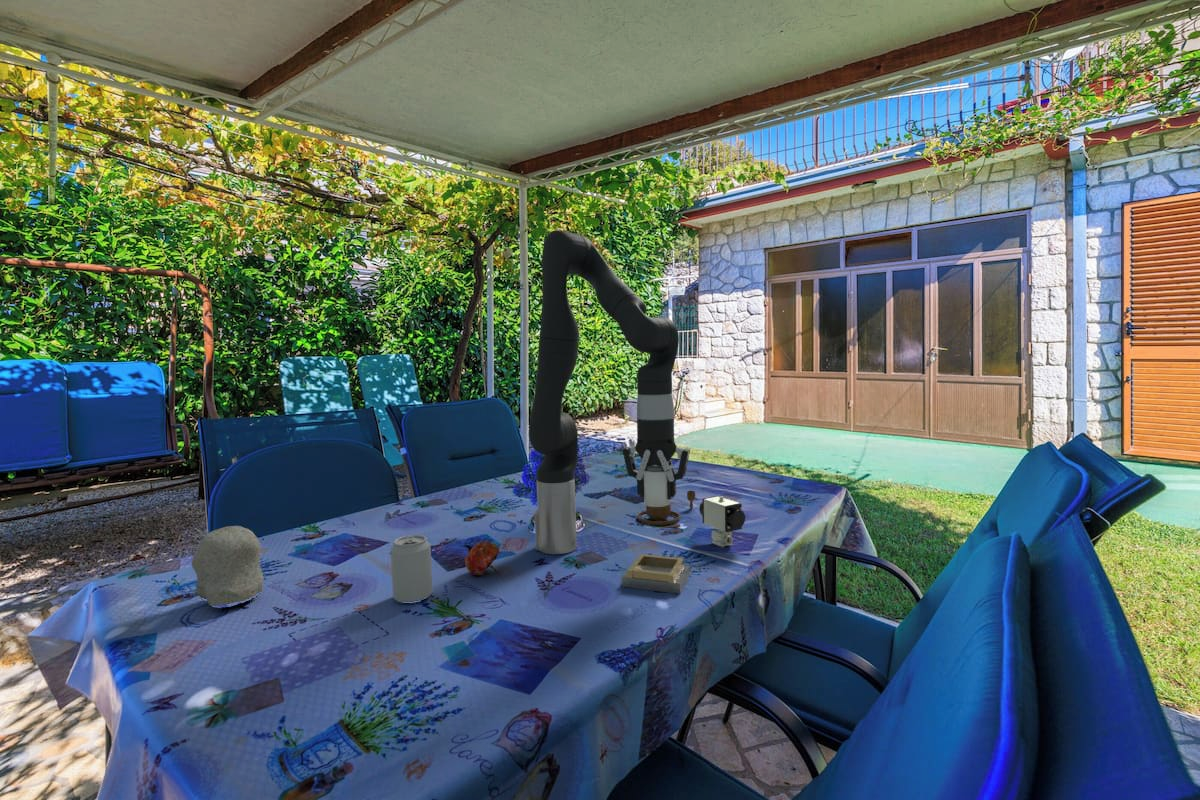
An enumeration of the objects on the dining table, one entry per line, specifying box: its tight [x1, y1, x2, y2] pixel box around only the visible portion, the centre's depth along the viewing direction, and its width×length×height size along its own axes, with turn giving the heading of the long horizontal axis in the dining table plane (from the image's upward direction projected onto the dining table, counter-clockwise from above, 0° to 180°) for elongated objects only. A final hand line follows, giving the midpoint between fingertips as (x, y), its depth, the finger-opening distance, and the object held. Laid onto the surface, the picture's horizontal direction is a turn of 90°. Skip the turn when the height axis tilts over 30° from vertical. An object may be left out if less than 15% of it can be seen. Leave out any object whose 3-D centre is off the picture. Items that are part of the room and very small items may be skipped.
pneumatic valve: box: [698, 495, 746, 549], centre depth 138 cm, size 6×12×12 cm, turn 29°
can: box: [389, 534, 434, 602], centre depth 112 cm, size 8×8×12 cm
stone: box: [191, 525, 264, 606], centre depth 111 cm, size 11×11×15 cm
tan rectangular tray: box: [621, 553, 691, 595], centre depth 117 cm, size 12×10×4 cm
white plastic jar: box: [643, 465, 670, 507], centre depth 116 cm, size 5×5×8 cm
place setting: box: [637, 490, 696, 529], centre depth 161 cm, size 18×20×6 cm
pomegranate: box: [463, 540, 501, 576], centre depth 124 cm, size 7×7×10 cm
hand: (656, 497), depth 116 cm, fingers closed on white plastic jar, 5 cm apart
